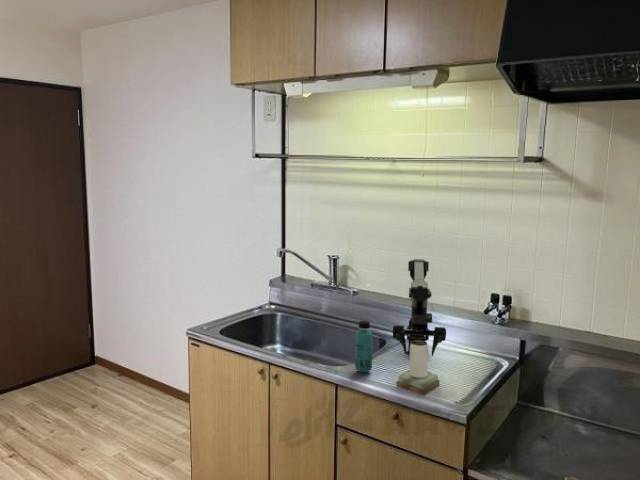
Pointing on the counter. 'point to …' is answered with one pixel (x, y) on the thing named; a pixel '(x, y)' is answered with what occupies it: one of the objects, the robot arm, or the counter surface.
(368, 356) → the beverage bottle
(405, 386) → the tower base
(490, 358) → the counter surface
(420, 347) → the can
